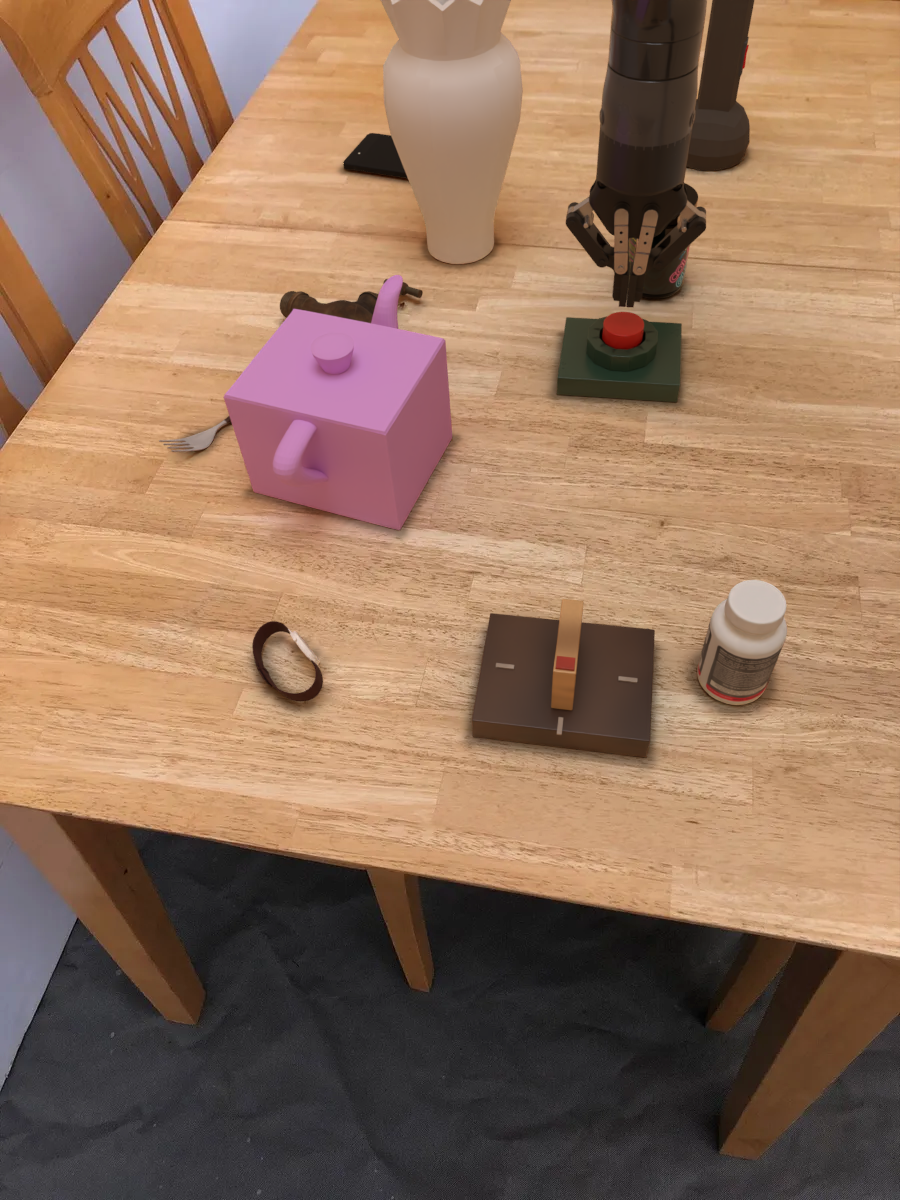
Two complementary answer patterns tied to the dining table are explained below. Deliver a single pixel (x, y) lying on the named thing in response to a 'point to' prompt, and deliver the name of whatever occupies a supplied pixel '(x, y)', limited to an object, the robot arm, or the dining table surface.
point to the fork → (197, 439)
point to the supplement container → (673, 274)
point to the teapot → (345, 413)
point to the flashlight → (722, 90)
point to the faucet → (339, 304)
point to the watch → (275, 626)
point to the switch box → (620, 363)
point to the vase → (453, 116)
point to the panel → (602, 690)
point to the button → (623, 330)
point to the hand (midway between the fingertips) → (626, 302)
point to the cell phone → (376, 156)
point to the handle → (566, 654)
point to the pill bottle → (743, 643)
